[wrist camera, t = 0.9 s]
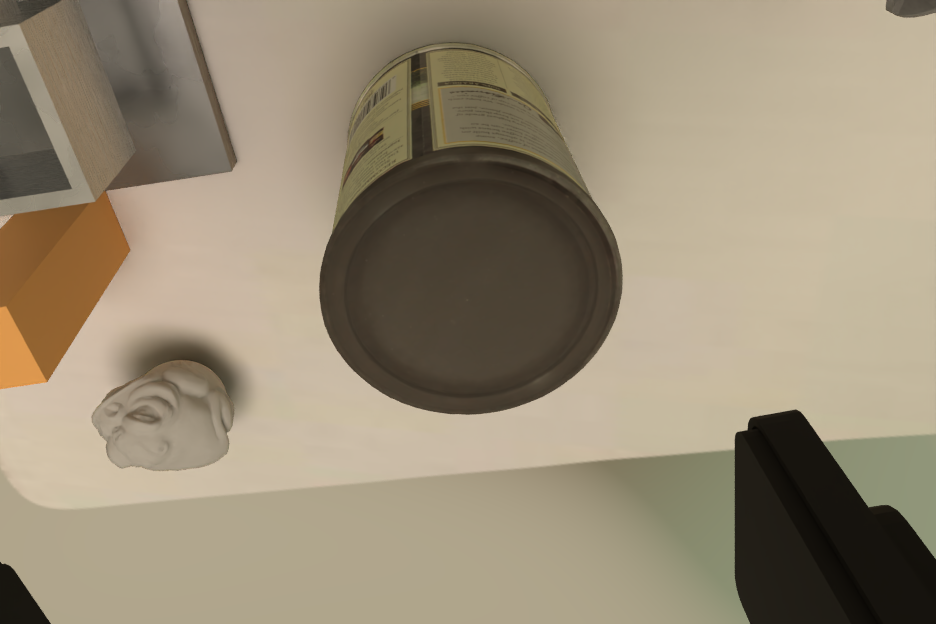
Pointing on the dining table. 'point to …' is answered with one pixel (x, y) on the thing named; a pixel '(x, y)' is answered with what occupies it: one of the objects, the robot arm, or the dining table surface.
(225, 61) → the dining table surface
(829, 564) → the robot arm
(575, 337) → the coffee can
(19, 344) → the orange rectangular block
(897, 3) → the coffeepot
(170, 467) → the plaster head sculpture
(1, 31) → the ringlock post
